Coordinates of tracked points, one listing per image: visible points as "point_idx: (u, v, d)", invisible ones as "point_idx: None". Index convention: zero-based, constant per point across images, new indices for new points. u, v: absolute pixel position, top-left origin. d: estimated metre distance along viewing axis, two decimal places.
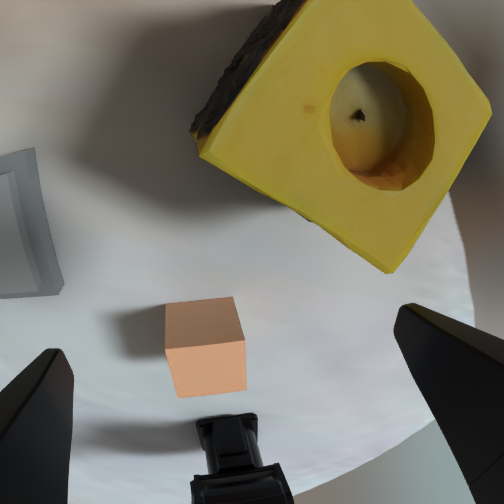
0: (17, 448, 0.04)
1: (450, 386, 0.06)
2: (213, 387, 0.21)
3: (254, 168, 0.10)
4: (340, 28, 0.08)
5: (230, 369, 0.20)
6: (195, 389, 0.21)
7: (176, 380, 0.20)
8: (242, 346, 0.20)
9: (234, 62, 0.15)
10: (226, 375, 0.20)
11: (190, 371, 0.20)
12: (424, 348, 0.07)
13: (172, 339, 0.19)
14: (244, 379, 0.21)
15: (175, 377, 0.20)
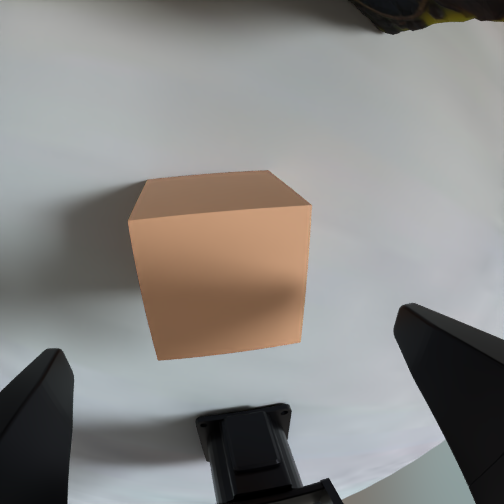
0: (17, 448, 0.04)
1: (450, 386, 0.06)
2: (233, 334, 0.10)
3: None
4: None
5: (273, 286, 0.10)
6: (195, 339, 0.10)
7: (153, 314, 0.09)
8: (305, 222, 0.09)
9: None
10: (264, 303, 0.10)
11: (186, 288, 0.09)
12: (424, 348, 0.07)
13: (149, 208, 0.09)
14: (299, 315, 0.10)
15: (151, 305, 0.09)
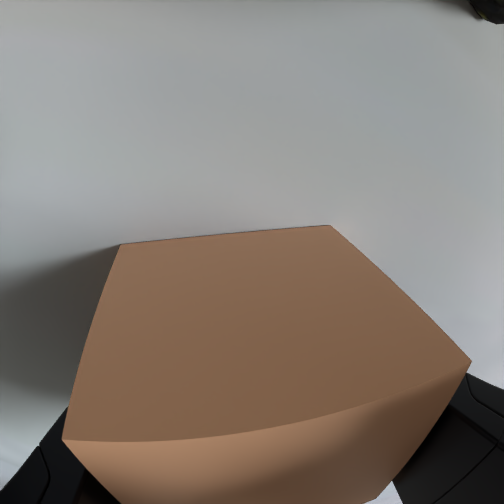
0: None
1: None
2: None
3: None
4: None
5: (364, 474, 0.04)
6: None
7: None
8: (450, 390, 0.03)
9: None
10: (342, 491, 0.04)
11: None
12: None
13: (109, 379, 0.03)
14: (387, 482, 0.05)
15: None
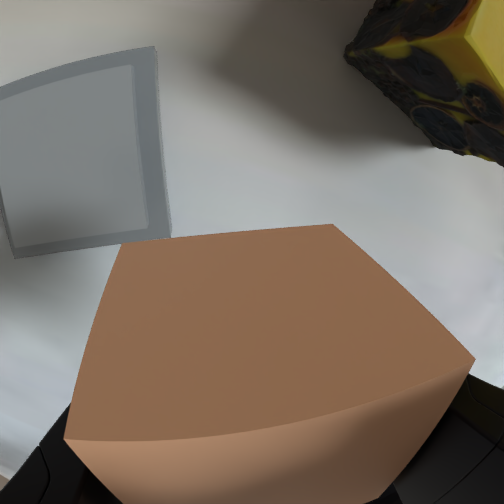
0: None
1: None
2: None
3: (493, 61, 0.07)
4: None
5: (367, 473, 0.04)
6: None
7: None
8: (453, 388, 0.03)
9: (387, 2, 0.13)
10: (345, 490, 0.04)
11: None
12: None
13: (112, 378, 0.03)
14: (389, 481, 0.05)
15: None
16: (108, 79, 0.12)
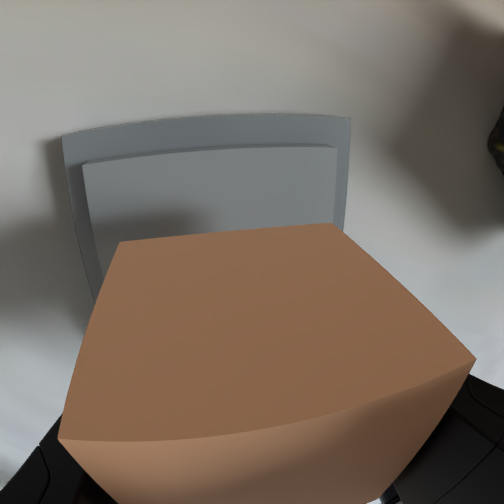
0: None
1: None
2: None
3: None
4: None
5: (367, 474, 0.04)
6: None
7: None
8: (454, 388, 0.03)
9: None
10: (344, 491, 0.04)
11: None
12: None
13: (107, 378, 0.03)
14: (389, 482, 0.05)
15: None
16: (306, 164, 0.10)
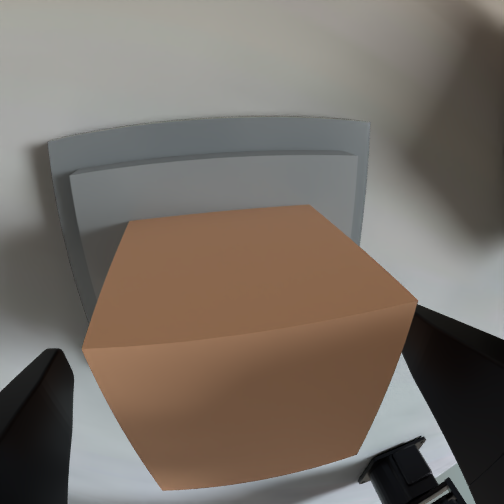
0: (17, 448, 0.04)
1: (450, 386, 0.06)
2: (270, 465, 0.06)
3: None
4: None
5: (337, 413, 0.05)
6: (214, 474, 0.06)
7: (150, 456, 0.05)
8: (402, 327, 0.05)
9: None
10: (319, 432, 0.06)
11: (199, 432, 0.05)
12: (424, 348, 0.07)
13: (122, 308, 0.05)
14: (363, 433, 0.06)
15: (145, 449, 0.05)
16: (323, 174, 0.09)
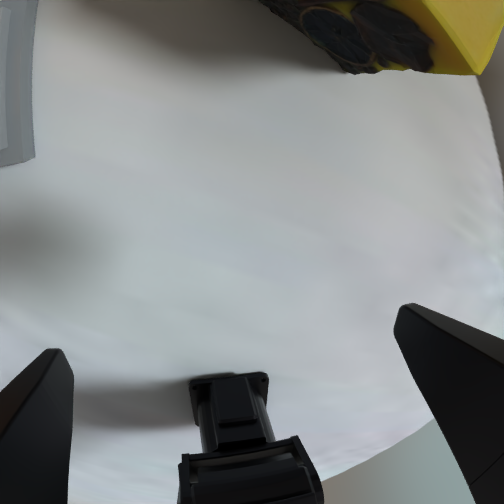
0: (17, 448, 0.04)
1: (450, 386, 0.06)
2: None
3: None
4: None
5: None
6: None
7: None
8: None
9: None
10: None
11: None
12: (424, 348, 0.07)
13: None
14: None
15: None
16: None
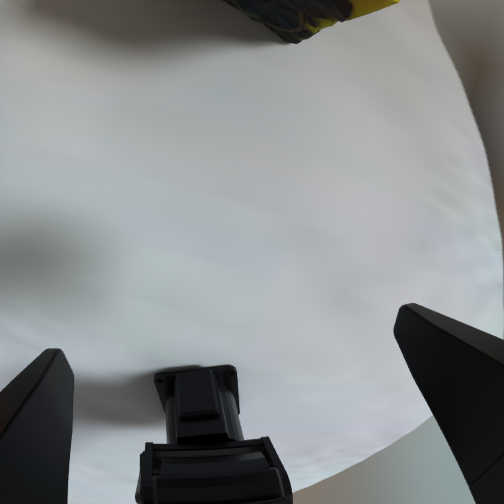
0: (17, 448, 0.04)
1: (450, 386, 0.06)
2: None
3: None
4: None
5: None
6: None
7: None
8: None
9: None
10: None
11: None
12: (424, 348, 0.07)
13: None
14: None
15: None
16: None
